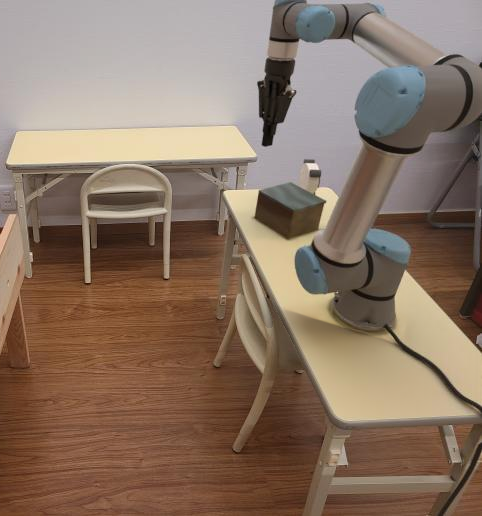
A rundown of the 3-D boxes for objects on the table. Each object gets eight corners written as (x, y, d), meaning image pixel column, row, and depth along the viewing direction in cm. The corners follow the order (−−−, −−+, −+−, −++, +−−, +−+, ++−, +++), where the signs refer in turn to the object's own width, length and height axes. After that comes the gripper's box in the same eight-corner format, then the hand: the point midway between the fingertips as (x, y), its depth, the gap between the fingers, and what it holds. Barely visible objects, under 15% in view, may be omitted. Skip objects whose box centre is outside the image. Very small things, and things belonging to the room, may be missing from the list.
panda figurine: (323, 210, 178) (333, 171, 170) (291, 209, 178) (299, 170, 170) (315, 196, 188) (324, 158, 180) (285, 194, 188) (292, 157, 180)
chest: (283, 209, 178) (288, 184, 173) (318, 229, 166) (324, 203, 161) (254, 217, 173) (258, 192, 167) (287, 239, 160) (293, 212, 155)
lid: (290, 184, 173) (290, 182, 173) (326, 203, 161) (326, 200, 161) (258, 192, 167) (258, 190, 167) (293, 212, 155) (293, 210, 155)
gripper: (310, 61, 125) (292, 150, 138) (274, 52, 135) (261, 136, 147) (287, 64, 122) (272, 155, 135) (253, 54, 131) (241, 140, 144)
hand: (266, 145), depth 141 cm, fingers closed
